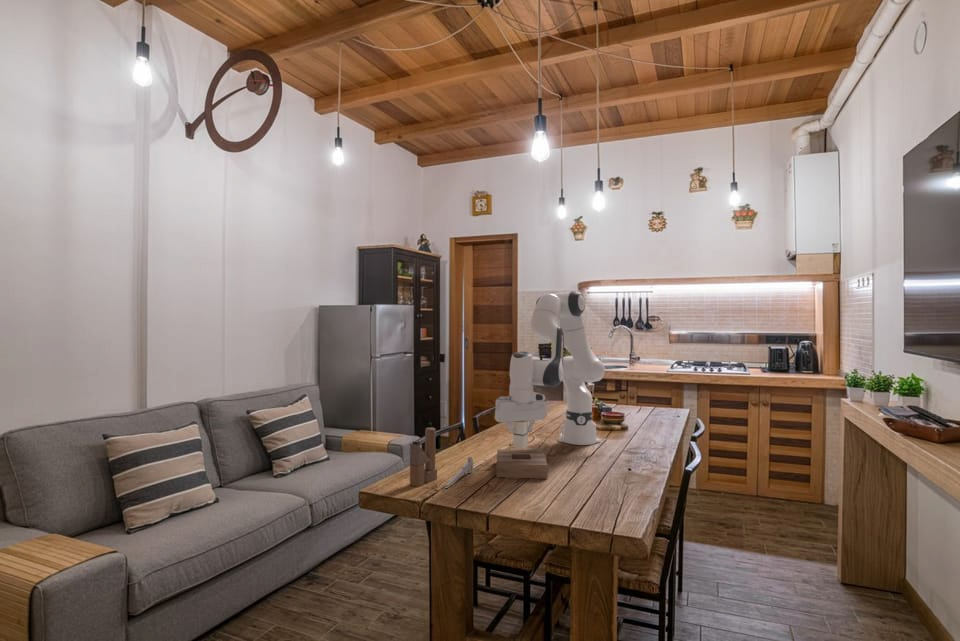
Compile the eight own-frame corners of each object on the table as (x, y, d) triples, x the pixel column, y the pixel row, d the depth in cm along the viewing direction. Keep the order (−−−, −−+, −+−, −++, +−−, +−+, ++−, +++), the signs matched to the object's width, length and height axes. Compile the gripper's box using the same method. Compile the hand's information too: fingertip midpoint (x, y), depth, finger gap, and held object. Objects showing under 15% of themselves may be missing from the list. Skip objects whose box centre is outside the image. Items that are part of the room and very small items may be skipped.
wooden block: (409, 485, 173) (409, 432, 173) (429, 477, 182) (429, 426, 182) (418, 487, 171) (418, 433, 171) (437, 478, 180) (437, 428, 180)
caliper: (470, 472, 188) (470, 455, 188) (473, 473, 187) (473, 456, 187) (444, 489, 169) (444, 470, 169) (447, 490, 169) (447, 471, 169)
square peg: (517, 445, 193) (518, 419, 193) (527, 447, 191) (528, 420, 191) (513, 448, 190) (513, 421, 189) (523, 449, 188) (523, 422, 188)
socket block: (497, 461, 201) (497, 449, 201) (543, 462, 200) (543, 450, 200) (496, 478, 181) (496, 463, 181) (547, 479, 180) (547, 464, 180)
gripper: (499, 398, 184) (498, 436, 184) (549, 395, 191) (548, 432, 191) (492, 395, 189) (491, 432, 190) (541, 393, 197) (540, 429, 197)
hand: (520, 432), depth 190 cm, fingers closed on square peg, 6 cm apart
